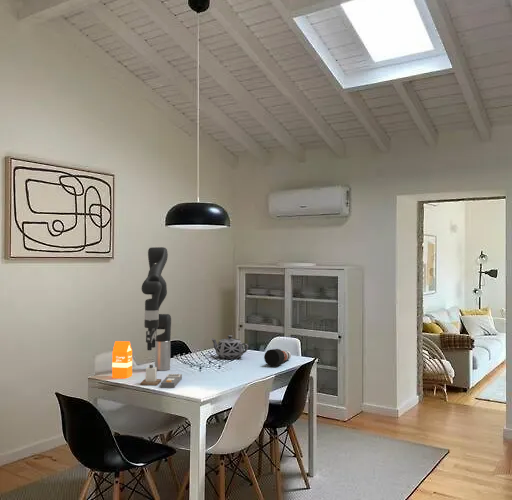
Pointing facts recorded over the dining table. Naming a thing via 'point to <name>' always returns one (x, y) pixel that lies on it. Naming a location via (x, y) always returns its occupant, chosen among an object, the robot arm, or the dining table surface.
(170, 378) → the grey panel with rod
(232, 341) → the teapot
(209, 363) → the dining table surface
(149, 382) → the walnut board
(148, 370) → the plug
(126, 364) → the orange juice
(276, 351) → the dark cylindrical piece
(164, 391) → the dining table surface
